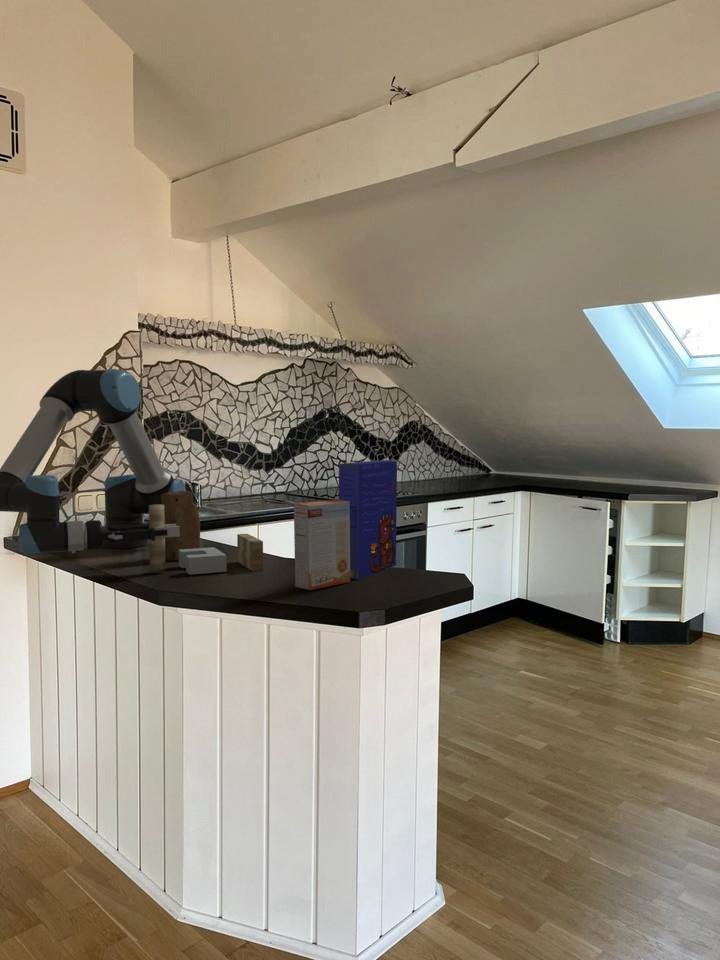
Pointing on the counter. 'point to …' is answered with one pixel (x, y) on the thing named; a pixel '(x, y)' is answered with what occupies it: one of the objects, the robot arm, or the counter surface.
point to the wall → (250, 552)
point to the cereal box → (370, 514)
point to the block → (181, 522)
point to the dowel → (159, 544)
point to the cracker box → (322, 544)
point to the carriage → (202, 560)
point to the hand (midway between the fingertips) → (177, 530)
